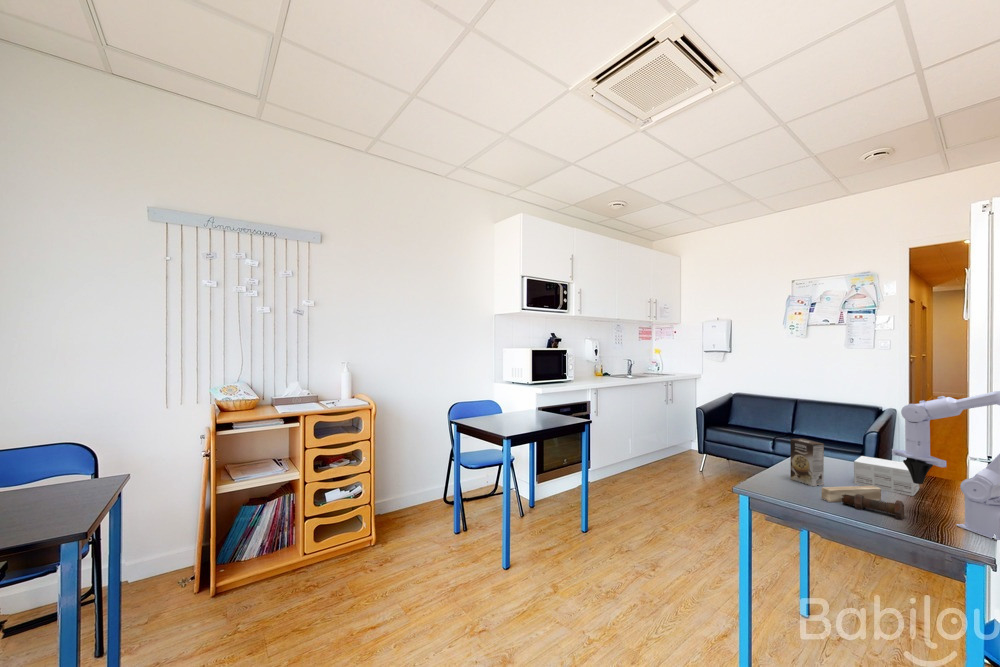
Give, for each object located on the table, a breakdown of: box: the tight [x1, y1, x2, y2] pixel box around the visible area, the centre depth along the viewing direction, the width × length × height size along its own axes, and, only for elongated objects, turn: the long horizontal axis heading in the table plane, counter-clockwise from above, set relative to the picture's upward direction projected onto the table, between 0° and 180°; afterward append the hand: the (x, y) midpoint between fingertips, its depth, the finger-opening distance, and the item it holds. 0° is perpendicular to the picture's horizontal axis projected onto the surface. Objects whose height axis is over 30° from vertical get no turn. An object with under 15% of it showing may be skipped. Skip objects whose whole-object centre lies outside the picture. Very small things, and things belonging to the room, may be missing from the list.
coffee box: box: [789, 438, 825, 487], centre depth 166 cm, size 9×6×16 cm
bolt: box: [841, 494, 905, 520], centre depth 137 cm, size 6×5×15 cm
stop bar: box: [821, 485, 882, 503], centre depth 147 cm, size 3×20×4 cm, turn 97°
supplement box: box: [853, 455, 920, 497], centre depth 161 cm, size 17×13×9 cm
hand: (918, 483), depth 136 cm, fingers closed
